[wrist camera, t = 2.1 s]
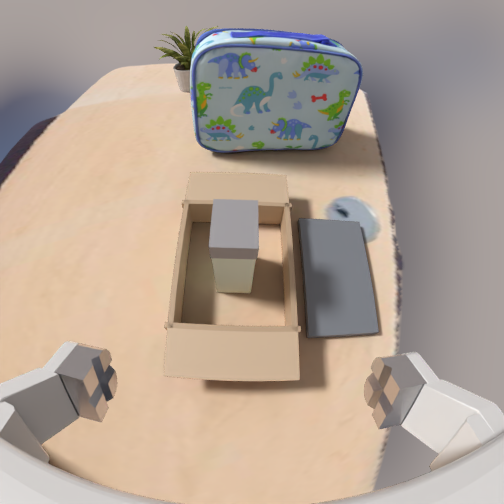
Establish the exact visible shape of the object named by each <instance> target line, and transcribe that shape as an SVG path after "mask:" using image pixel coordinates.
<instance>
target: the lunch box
mask: <svg viewBox="0 0 504 504" xmlns="http://www.w3.org/2000/svg"><path fill="white" fill-rule="evenodd" d="M362 76H363V69H362V65H361V63H360V62H359V61H358V59H357V58H356V57H355V56H354V55H352V54H351V53H350V52H348V51H347V50H346V49H345V48H344V47H343V46H342V45H341V44H340V43H339V42H337V41H335V40H332V39H329V38H327V37H326V36H324V35H310V34H303V33H292V32H284V31H274V30H264V29H215V30H210V31H207V32H205V33H204V34H202V35H201V36H200V37H199V39H198V41H197V43H196V46H195V50H194V52H193V54H192V58H191V68H190V94H191V107H192V117H193V125H194V132H195V136H196V140H197V142H198V143H199V144H200V145H201V146H202V147H203V148H205V149H207V150H210V151H214V152H222V153H226V152H240V151H254V150H285V149H297V150H316V149H322V148H326V147H329V146H332V145H333V144H335V143H336V142H337V141H338V140H339V138H340V137H341V135H342V133H343V131H344V128H345V125H346V123H347V119H348V117H349V114H350V111H351V109H352V106H353V103H354V101H355V98H356V96H357V93H358V90H359V88H360V85H361V81H362Z"/></svg>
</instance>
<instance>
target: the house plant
mask: <svg viewBox="0 0 504 504" xmlns="http://www.w3.org/2000/svg"><path fill="white" fill-rule="evenodd" d="M213 28H216V27H213ZM213 28H210V29H208V30H207V31H210V30H212V29H213ZM203 30H204V29H203ZM201 31H202V30H201ZM207 31H206V32H207ZM199 33H200V31H199V32H198V33H197V35H198V34H199ZM204 33H205V32H204ZM163 35H166V36H169V37H171V39H172V40H174V41H175V43H176V44H177V43H178V44H179V45H178V44H177V46H178V47H179V49H180V50H181V52H182V53H183V54H182V55H183V56H182V55H180V54H178V53H177V52H175V51H173V50H170V49H167V48H163V47H155V48H156V49H159V50H161V51H163V52H164V53H167V54H165V55H163V56H162V57H166V56H171V57H174V59H176V60H178V61H179V63H177V64H176V65H175V66H174V72H175V75H176V78H177V82H178V85H179V88H180V90H181V91H183V92H190V68H191V58H192V54H193V52H194V50H195V46H196V45H195V46H194V41H195V39H196V37H195V31H193V34H192V49H191V51H190V48H191V41H190V33H189V30H188V27H187V26H186V27H185V42H186V44H185V42H184V41H183V39H182V38H181V37H180V36H178V35H177V34H176V35H177V36H178V37H179V38H180V39H181V41H182V42H183V44H182V43H181V42H180V41H179V40H178V39H177V38H176V37H174V36H172V35H167V34H163ZM197 35H196V36H197ZM162 41H163V40H162ZM169 44H170V43H169ZM162 57H161V58H162Z"/></svg>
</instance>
